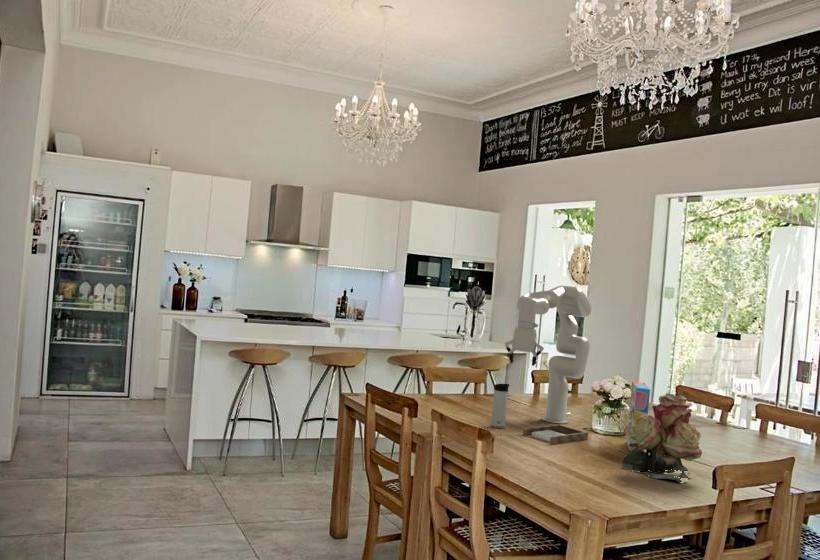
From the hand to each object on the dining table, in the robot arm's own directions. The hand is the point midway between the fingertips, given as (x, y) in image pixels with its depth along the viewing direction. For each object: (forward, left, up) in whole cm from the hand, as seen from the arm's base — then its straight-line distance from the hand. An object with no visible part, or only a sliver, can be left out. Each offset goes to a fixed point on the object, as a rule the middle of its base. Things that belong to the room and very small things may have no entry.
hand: (522, 364), depth 328 cm
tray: (-5, +17, -30) cm, 35 cm away
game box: (-28, +42, -30) cm, 59 cm away
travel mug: (+3, -8, -30) cm, 31 cm away
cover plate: (-2, +17, -29) cm, 34 cm away
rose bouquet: (-3, +70, -30) cm, 76 cm away
